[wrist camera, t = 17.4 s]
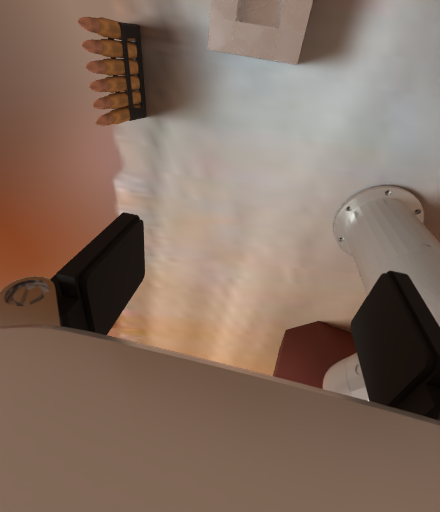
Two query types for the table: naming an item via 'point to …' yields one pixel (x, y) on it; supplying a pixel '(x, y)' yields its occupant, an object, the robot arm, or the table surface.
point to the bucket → (312, 352)
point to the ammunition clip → (116, 69)
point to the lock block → (259, 28)
